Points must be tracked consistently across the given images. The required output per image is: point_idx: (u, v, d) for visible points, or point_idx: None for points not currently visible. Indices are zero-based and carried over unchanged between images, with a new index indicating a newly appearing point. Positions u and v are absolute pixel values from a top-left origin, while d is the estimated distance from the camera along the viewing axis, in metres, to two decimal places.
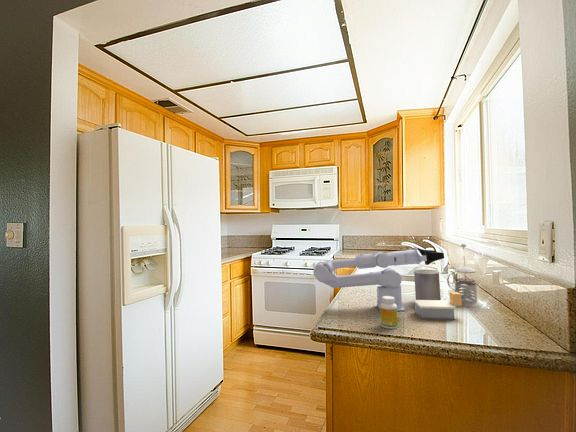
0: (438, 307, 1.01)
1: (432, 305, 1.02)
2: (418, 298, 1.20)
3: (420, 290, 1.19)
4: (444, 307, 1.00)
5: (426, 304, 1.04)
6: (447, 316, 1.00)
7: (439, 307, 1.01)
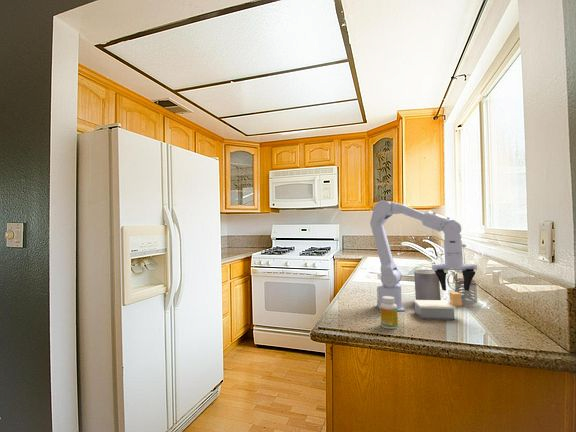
0: (438, 307, 1.01)
1: (432, 305, 1.02)
2: (418, 298, 1.20)
3: (420, 290, 1.19)
4: (444, 307, 1.00)
5: (426, 304, 1.04)
6: (447, 316, 1.00)
7: (439, 307, 1.01)
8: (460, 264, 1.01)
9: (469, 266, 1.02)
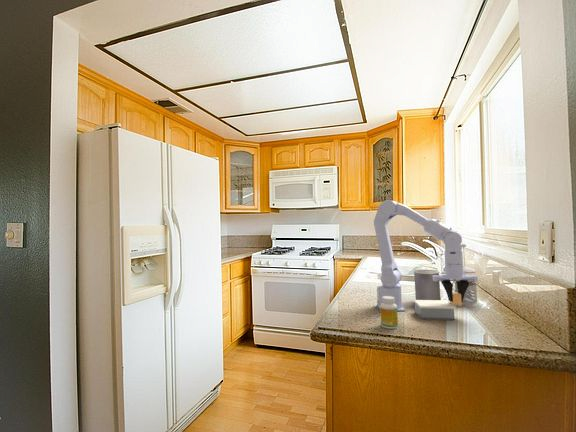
0: (438, 307, 1.01)
1: (432, 305, 1.02)
2: (418, 298, 1.20)
3: (420, 290, 1.19)
4: (444, 307, 1.00)
5: (426, 304, 1.04)
6: (447, 316, 1.00)
7: (439, 307, 1.01)
8: (460, 275, 1.01)
9: (469, 277, 1.02)
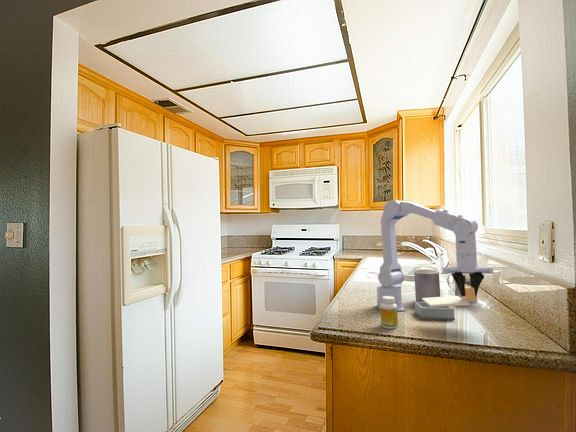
0: (450, 304, 0.91)
1: (443, 303, 0.92)
2: (418, 298, 1.20)
3: (420, 290, 1.19)
4: (457, 304, 0.90)
5: (436, 302, 0.93)
6: (447, 316, 1.00)
7: (451, 304, 0.90)
8: (474, 267, 0.91)
9: (484, 269, 0.92)
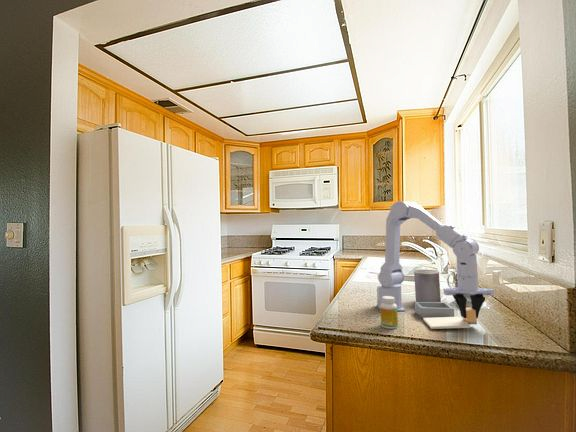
0: (451, 327, 0.90)
1: (444, 324, 0.92)
2: (418, 298, 1.20)
3: (420, 290, 1.19)
4: (458, 326, 0.90)
5: (437, 323, 0.93)
6: (447, 316, 1.00)
7: (452, 327, 0.90)
8: (475, 289, 0.91)
9: (485, 291, 0.91)
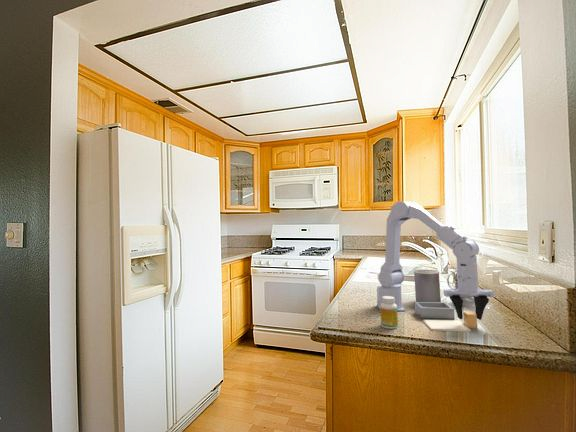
0: (451, 330, 0.90)
1: (444, 327, 0.92)
2: (418, 298, 1.20)
3: (420, 290, 1.19)
4: (458, 330, 0.90)
5: (437, 326, 0.93)
6: (447, 316, 1.00)
7: (452, 330, 0.90)
8: (475, 290, 0.91)
9: (485, 292, 0.91)
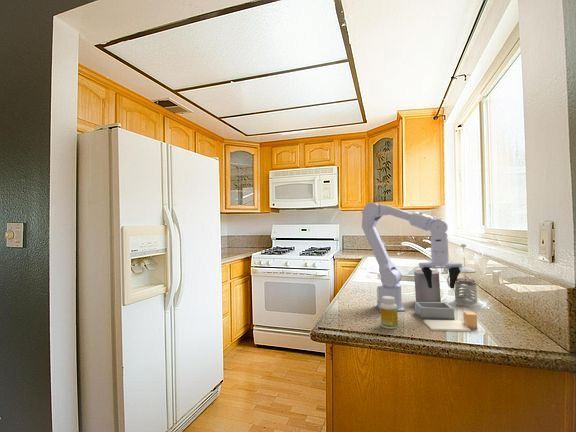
0: (451, 330, 0.90)
1: (444, 327, 0.92)
2: (418, 298, 1.20)
3: (420, 290, 1.19)
4: (458, 330, 0.90)
5: (437, 326, 0.93)
6: (447, 316, 1.00)
7: (452, 330, 0.90)
8: (446, 262, 1.04)
9: (454, 264, 1.04)
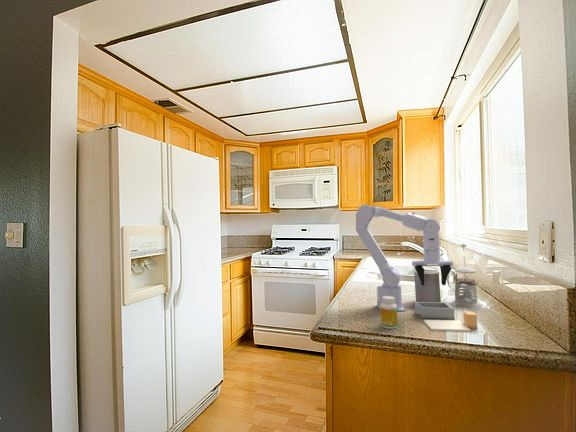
0: (451, 330, 0.90)
1: (444, 327, 0.92)
2: (418, 298, 1.20)
3: (420, 290, 1.19)
4: (458, 330, 0.90)
5: (437, 326, 0.93)
6: (447, 316, 1.00)
7: (452, 330, 0.90)
8: (437, 260, 1.08)
9: (446, 262, 1.09)
